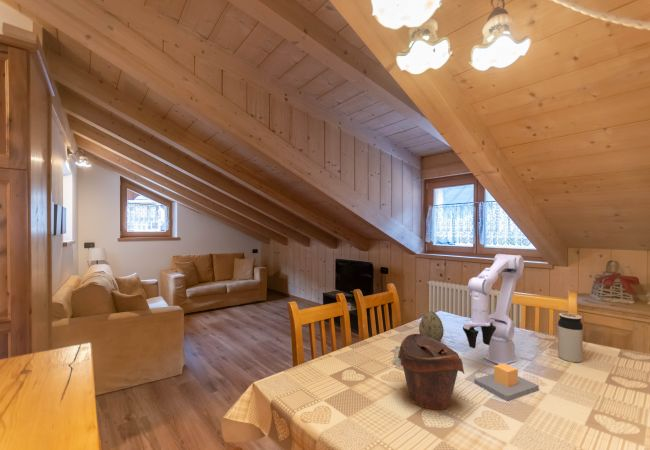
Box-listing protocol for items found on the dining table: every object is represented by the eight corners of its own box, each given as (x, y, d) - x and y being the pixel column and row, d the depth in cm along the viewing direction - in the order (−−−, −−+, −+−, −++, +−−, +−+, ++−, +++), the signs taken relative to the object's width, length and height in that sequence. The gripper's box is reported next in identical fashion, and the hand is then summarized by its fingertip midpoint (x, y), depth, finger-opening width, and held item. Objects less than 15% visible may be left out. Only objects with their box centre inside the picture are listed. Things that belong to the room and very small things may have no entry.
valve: (398, 368, 119) (425, 365, 122) (398, 351, 119) (426, 348, 122) (390, 361, 125) (416, 358, 128) (390, 345, 125) (416, 342, 128)
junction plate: (504, 374, 115) (504, 360, 115) (538, 390, 104) (538, 375, 104) (474, 383, 108) (474, 368, 108) (507, 401, 97) (507, 385, 97)
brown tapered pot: (459, 424, 85) (459, 358, 85) (389, 402, 96) (390, 344, 96) (468, 395, 100) (468, 339, 101) (407, 379, 111) (407, 329, 111)
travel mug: (561, 360, 127) (561, 316, 127) (555, 353, 134) (555, 311, 134) (585, 364, 124) (586, 319, 124) (578, 356, 131) (578, 313, 131)
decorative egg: (416, 345, 142) (416, 312, 142) (422, 338, 152) (422, 307, 152) (440, 350, 137) (441, 316, 137) (445, 342, 146) (445, 310, 146)
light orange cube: (503, 377, 109) (503, 363, 109) (517, 384, 105) (517, 369, 105) (494, 380, 107) (494, 365, 107) (507, 387, 102) (508, 371, 103)
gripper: (475, 314, 111) (474, 352, 111) (502, 310, 117) (502, 346, 117) (459, 309, 117) (458, 345, 117) (485, 305, 123) (485, 340, 123)
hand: (479, 345), depth 118 cm, fingers open, 7 cm apart
